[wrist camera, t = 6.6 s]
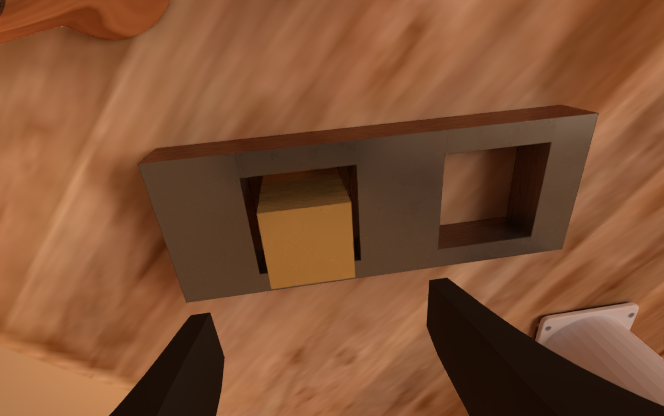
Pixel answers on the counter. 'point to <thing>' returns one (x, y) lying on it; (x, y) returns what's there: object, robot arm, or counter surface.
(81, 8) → the beer glass
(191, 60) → the counter surface
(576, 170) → the grey slotted board
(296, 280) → the golden brown block
